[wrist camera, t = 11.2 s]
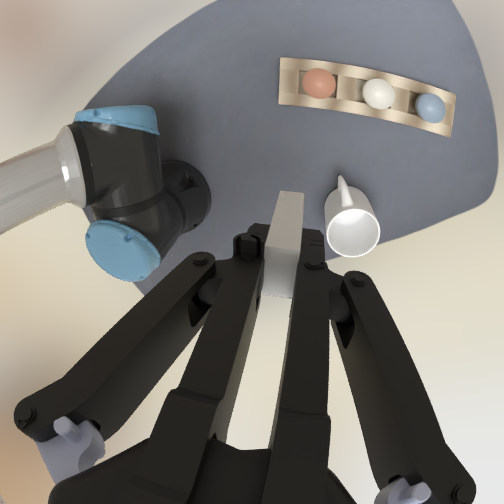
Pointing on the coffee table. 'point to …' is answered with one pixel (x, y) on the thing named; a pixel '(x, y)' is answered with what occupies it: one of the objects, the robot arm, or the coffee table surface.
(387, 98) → the cream rounded piece
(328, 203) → the mug
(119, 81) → the coffee table surface
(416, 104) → the slate ball
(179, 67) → the coffee table surface
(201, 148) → the coffee table surface
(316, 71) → the terracotta ball
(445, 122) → the three-ball wooden rack
